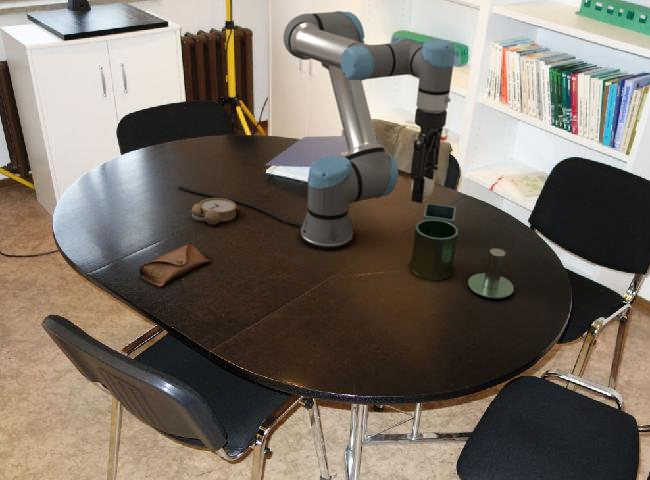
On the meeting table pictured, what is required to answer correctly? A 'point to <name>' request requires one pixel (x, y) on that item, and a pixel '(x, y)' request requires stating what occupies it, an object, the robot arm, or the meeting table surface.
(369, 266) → the meeting table surface
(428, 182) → the paper ball
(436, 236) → the trash can
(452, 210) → the flower pot
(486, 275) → the bin lid
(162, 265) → the sunglasses case
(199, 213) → the alarm clock
